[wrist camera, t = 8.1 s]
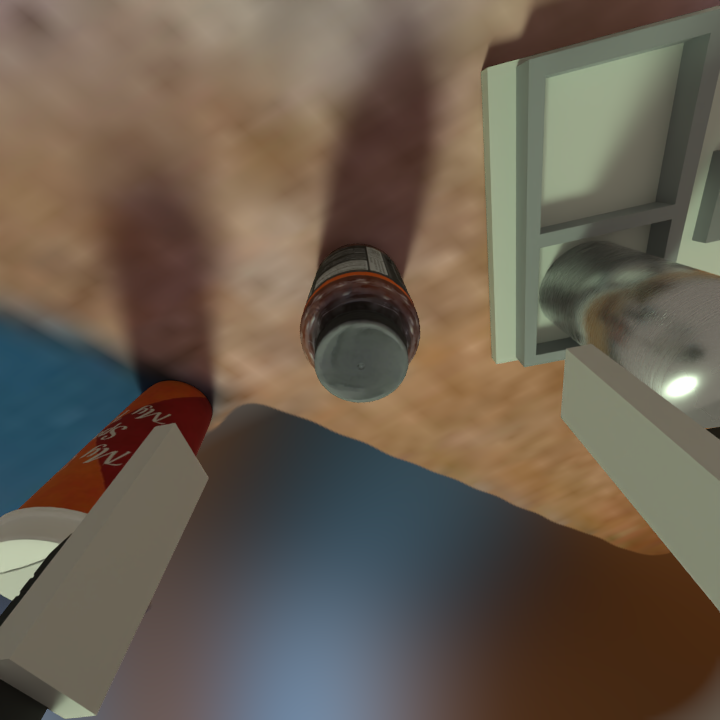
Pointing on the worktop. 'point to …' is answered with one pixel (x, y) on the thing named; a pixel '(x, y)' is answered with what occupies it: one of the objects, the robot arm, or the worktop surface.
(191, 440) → the paper cup
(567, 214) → the pale green compartment tray
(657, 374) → the cylinder
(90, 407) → the worktop surface
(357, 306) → the supplement bottle
